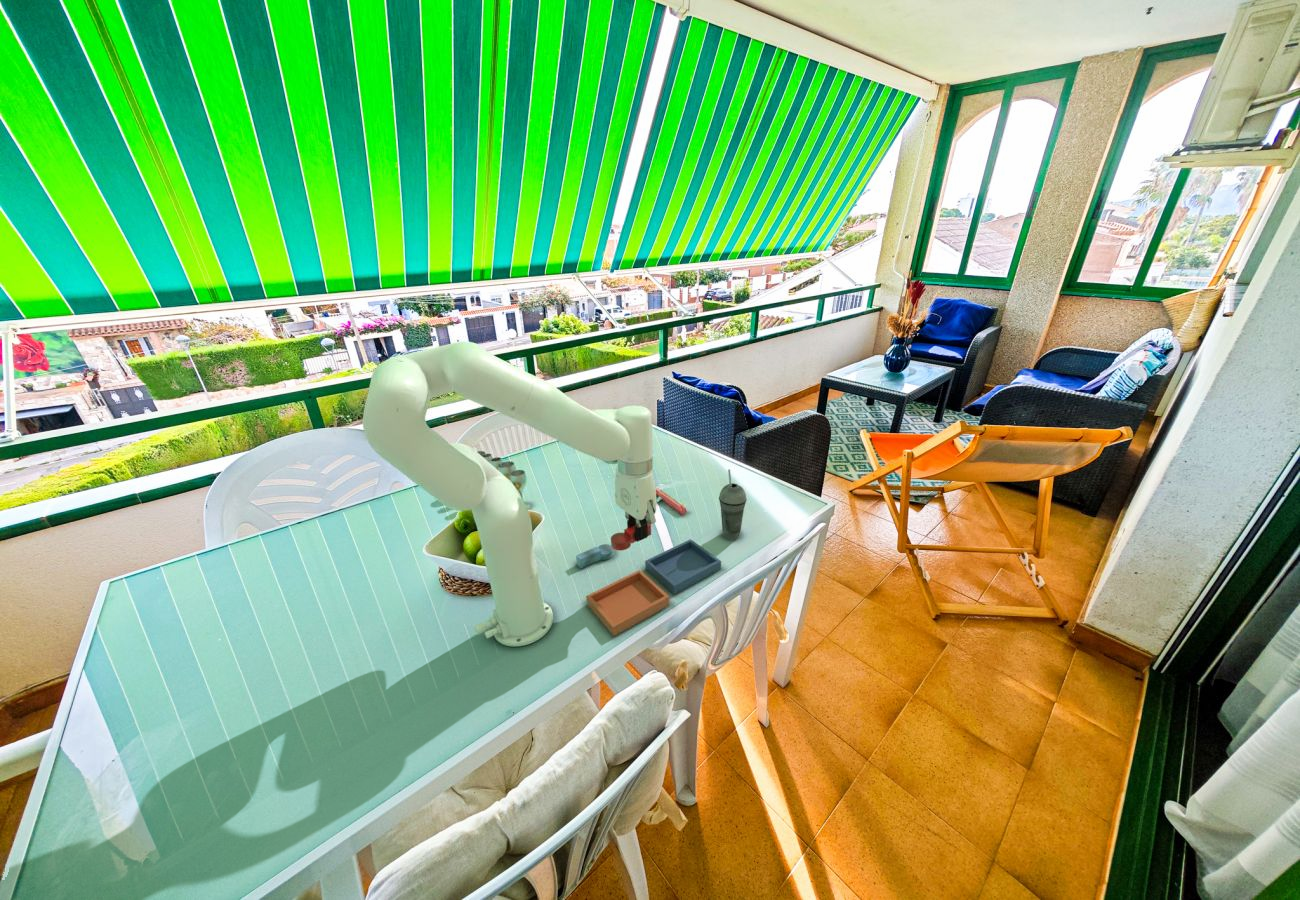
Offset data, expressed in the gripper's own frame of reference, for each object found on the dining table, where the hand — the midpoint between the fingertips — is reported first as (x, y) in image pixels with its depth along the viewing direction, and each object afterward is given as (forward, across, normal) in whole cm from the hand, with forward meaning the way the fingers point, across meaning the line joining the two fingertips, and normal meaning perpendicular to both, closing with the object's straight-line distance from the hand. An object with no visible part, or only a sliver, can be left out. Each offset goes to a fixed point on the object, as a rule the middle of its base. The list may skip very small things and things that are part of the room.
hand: (637, 535), depth 105 cm
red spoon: (0, 0, -1) cm, 1 cm away
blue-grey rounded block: (+13, -14, -4) cm, 19 cm away
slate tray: (+13, +4, +11) cm, 17 cm away
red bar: (+12, -27, +28) cm, 41 cm away
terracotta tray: (+13, +5, -7) cm, 15 cm away
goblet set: (+13, -62, -10) cm, 65 cm away
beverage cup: (+12, +1, +30) cm, 33 cm away
